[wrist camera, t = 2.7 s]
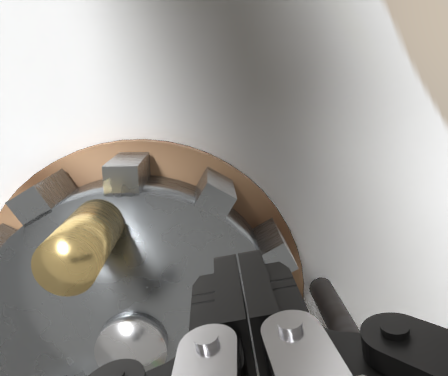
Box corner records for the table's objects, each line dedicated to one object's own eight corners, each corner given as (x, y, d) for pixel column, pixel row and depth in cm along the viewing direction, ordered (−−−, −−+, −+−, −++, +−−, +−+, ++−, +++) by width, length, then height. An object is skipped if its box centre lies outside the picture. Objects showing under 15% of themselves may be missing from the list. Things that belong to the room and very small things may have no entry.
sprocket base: (-11, 112, 23) (-191, 137, 13) (370, 174, 25) (485, 240, 15) (-12, 399, 29) (-137, 579, 18) (298, 430, 31) (343, 608, 21)
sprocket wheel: (-13, 126, 22) (-154, 154, 14) (328, 180, 24) (395, 236, 15) (-14, 408, 28) (-115, 557, 19) (263, 435, 29) (286, 583, 21)
